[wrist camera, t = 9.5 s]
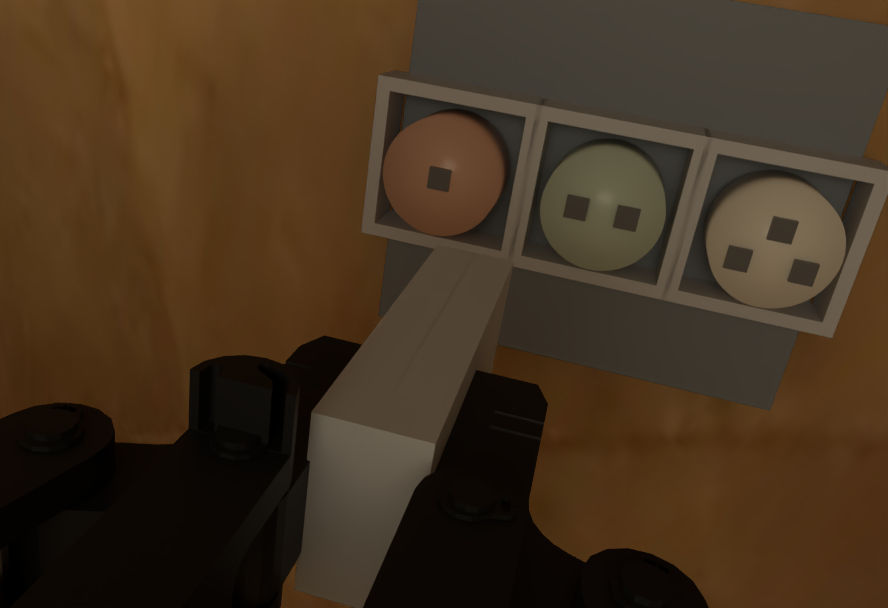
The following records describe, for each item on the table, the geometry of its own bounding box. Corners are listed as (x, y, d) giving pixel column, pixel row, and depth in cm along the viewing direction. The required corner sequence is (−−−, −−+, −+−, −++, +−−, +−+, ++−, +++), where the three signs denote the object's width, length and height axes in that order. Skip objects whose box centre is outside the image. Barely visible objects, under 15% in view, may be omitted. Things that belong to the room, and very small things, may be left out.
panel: (379, 297, 37) (350, 329, 33) (423, -49, 31) (392, -55, 27) (777, 391, 34) (793, 439, 30) (910, 29, 28) (948, 34, 24)
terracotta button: (395, 206, 32) (375, 224, 30) (409, 99, 30) (388, 108, 28) (499, 229, 32) (486, 248, 29) (519, 120, 30) (507, 131, 27)
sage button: (538, 237, 31) (528, 258, 29) (560, 128, 30) (552, 140, 27) (648, 261, 31) (648, 284, 28) (678, 151, 29) (680, 165, 26)
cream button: (689, 270, 30) (693, 294, 28) (722, 159, 29) (729, 174, 26) (807, 296, 30) (821, 323, 27) (848, 183, 28) (867, 201, 25)
